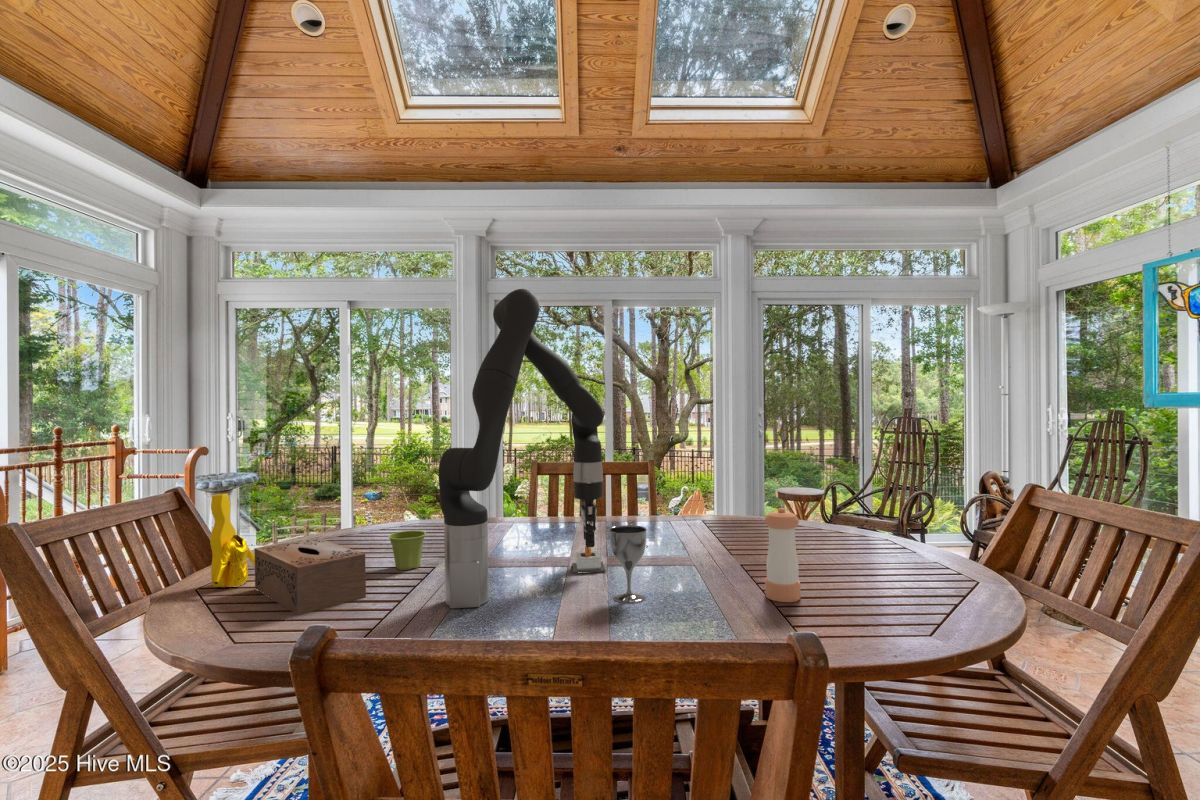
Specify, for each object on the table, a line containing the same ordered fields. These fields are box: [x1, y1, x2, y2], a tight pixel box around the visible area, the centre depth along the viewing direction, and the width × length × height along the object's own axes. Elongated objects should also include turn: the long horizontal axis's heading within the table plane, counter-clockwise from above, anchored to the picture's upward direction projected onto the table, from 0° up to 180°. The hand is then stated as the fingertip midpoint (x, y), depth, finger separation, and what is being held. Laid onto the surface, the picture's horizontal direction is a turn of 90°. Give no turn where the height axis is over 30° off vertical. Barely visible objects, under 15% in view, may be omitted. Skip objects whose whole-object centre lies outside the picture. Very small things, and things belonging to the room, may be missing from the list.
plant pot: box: [388, 530, 427, 571], centre depth 158 cm, size 9×9×9 cm
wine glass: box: [609, 524, 647, 605], centre depth 131 cm, size 8×8×15 cm
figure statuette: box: [209, 493, 255, 588], centre depth 145 cm, size 18×8×22 cm, turn 1°
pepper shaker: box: [764, 507, 802, 603], centre depth 130 cm, size 7×7×19 cm
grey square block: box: [574, 550, 602, 570], centre depth 154 cm, size 6×6×3 cm
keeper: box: [571, 546, 607, 574], centre depth 154 cm, size 8×8×6 cm
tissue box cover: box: [254, 537, 367, 616], centre depth 138 cm, size 26×14×10 cm, turn 47°
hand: (589, 543), depth 153 cm, fingers open, 8 cm apart
